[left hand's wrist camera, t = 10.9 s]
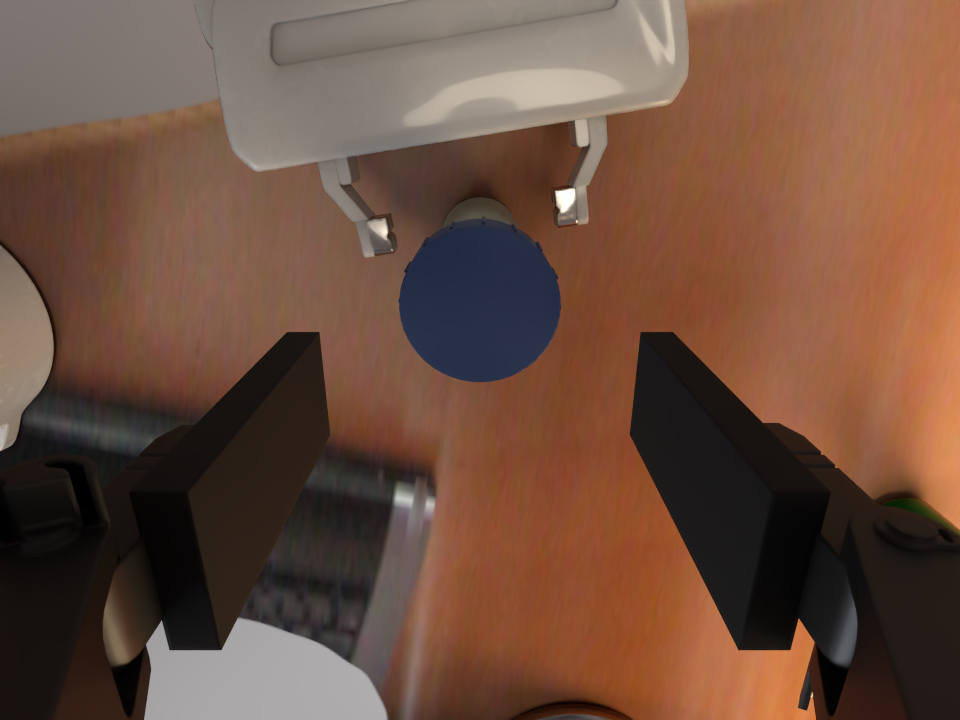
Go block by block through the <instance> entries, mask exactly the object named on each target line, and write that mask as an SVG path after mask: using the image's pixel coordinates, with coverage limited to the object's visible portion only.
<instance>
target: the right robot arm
mask: <svg viewBox="0 0 960 720" xmlns="http://www.w3.org/2000/svg"><path fill="white" fill-rule="evenodd" d="M193 3H194V6H195V10H196V13H197V17H198V20H199V24H200V27H201V30H202V33H203V35H204V37H205V39H206V41H207V43H208V45H209V46H210V47H211V49H212V50H213V58H214V65H215V73H216V80H217V86H218V92H219V98H220V103H221V108H222V113H223V117H224V122H225V126H226V131H227V135H228V139H229V142H230V146H231V148H232V150H233V152H234V153H235V155H236V156H237V157H238V158H240V159H241V160H242V161H243V162H244V163H245V164H247V165H248V166H249V167H250V168H251V169H253V170H254V171H258V172H261V171H270V170H276V169H282V168H288V167H295V166H301V165H307V164H313V163H317V164H318V168H319V172H320V176H321V180H322V185H323V189H324V190H325V191H326V192H327V193H328V194H329V196H330V197H331V198H332V199H333V200H334V201H335V202H336V203H337V205H338V206H339V207H340V208H341V209H342V210H343V211H344V212H345V214H346V215H347V216H348V217H349V218H350V219H351V220H352V222H356V226H357V230H358V234H359V239H360V243H361V247H362V252H363V254H364V256H365V257H374V256H379V255H385V254H391V253H395V251H396V250H397V240H396V235H395V234H394V233H393V232H392V229H393V227H394V225H393V221H392V216H391V213H389V214H382V215H375V214H374V213H373V211H372V210H371V209H370V208H369V207H368V205H367V204H366V203H365V202H364V200H363V199H362V198H361V197H360V195H359V194H358V193H357V192H356V190H355V189H354V188H353V187H352V186H351V183H354V182H357V181H359V180H360V179H361V178H360V173H359V168H358V163H357V158H356V156H360V155H366V154H372V153H379V152H385V151H391V150H397V149H403V148H409V147H415V146H422V145H428V144H434V143H440V142H446V141H452V140H458V139H465V138H471V137H477V136H483V135H489V134H495V133H501V132H508V131H514V130H520V129H526V128H532V127H538V126H544V125H551V124H557V123H563V122H568V129H569V139H570V145H571V146H572V147H582V148H581V151H580V153H579V155H578V158H577V160H576V163H575V165H574V168H573V170H572V172H571V175H570V177H569V180H568V182H567V185H566V186H560V187H555V188H551V197H552V202H553V203H554V205H555V208H554V210H553V216H554V223H555V225H556V226H557V227H558V228H561V227H568V226H575V225H582V224H588V204H587V191H586V186H587V185H589V183H590V181H591V179H592V177H593V175H594V172H595V170H596V168H597V166H598V164H599V161H600V159H601V157H602V155H603V153H604V150H605V148H606V146H607V144H608V142H607V126H606V116H608V115H614V114H620V113H626V112H633V111H639V110H645V109H651V108H657V107H662V106H666V105H669V104H671V103H672V102H673V101H674V99H675V98H676V96H677V95H678V93H679V92H680V90H681V89H682V87H683V85H684V83H685V82H686V80H687V77H688V73H689V40H688V25H687V14H686V4H685V0H193ZM53 353H54V341H53V332H52V327H51V323H50V319H49V316H48V313H47V310H46V307H45V305H44V302H43V300H42V298H41V296H40V294H39V292H38V291H37V289H36V287H35V285H34V284H33V282H32V281H31V279H30V278H29V276H28V275H27V273H26V272H25V271H24V270H23V268H22V267H21V266H20V265H19V263H18V262H17V261H16V260H15V259H14V258H13V257H12V256H11V255H10V254H9V253H8V252H7V251H6V250H5V249H4V248H3V247H2V246H1V245H0V451H2V450H4V449H6V448H8V447H10V446H11V445H12V444H13V443H14V442H15V440H16V437H17V434H18V430H19V425H20V420H21V414H22V413H23V411H24V410H25V408H26V407H27V406H28V405H29V403H30V402H31V401H32V400H33V399H34V398H35V397H36V396H37V395H38V393H39V392H40V391H41V389H42V388H43V386H44V385H45V383H46V381H47V379H48V376H49V373H50V371H51V367H52V362H53Z"/></svg>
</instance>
